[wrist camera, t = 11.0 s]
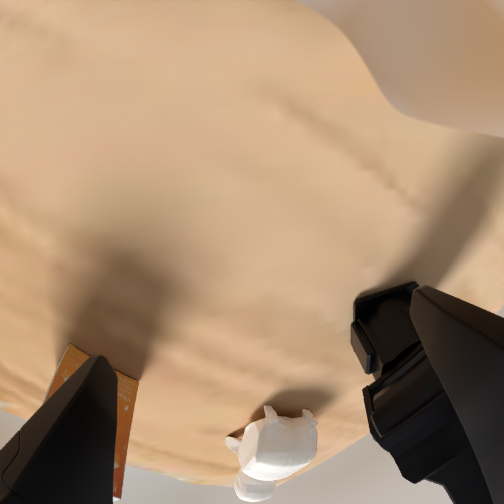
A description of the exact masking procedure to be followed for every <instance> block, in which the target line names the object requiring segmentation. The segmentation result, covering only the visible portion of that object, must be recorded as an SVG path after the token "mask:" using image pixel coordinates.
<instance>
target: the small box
mask: <svg viewBox="0 0 504 504" xmlns="http://www.w3.org/2000/svg"><path fill="white" fill-rule="evenodd" d="M89 357H90V356H88V355H87V354H85V353H83V352H82V351H80V350H78V349H77V348H76V347H74V346H73V345H71V344H69V345H68V346H67V348H66V350H65V352H64V354H63V356H62V358H61V360H60V363H59V365H58V367H57V369H56V371H55V374H54V376H53V378H52V380H51V383H50V385H49V388H48V390H47V393H46V395H45V398H44V400H43V403H42V405H43V404H44V403H45V402H46V401H47V400H48V399H49V398H50V397H51V396H52V395H53V394H54V393H55V391H56V390H57V389H58V388H59V387H60V386H61V385H62V384H63V383H64V382H65V381H66V380H67V379H68V378H69V377H70V376H71V375H72V374H73V373H74V372H75V371H76V370H77V369H78V368H79V367H80V366H81V365H82V364H83V363H84V362H85V361H86V360H87V359H88V358H89ZM115 372H116V374H117V377H118V403H117V434H116V446H115V460H114V480H113V501H116V500H120V499H121V495H122V486H123V478H124V470H125V463H126V456H127V449H128V442H129V436H130V430H131V424H132V418H133V413H134V407H135V401H136V396H137V391H138V386H139V382H138V381H136V380H134V379H131V378H129V377H127V376H125V375H123V374H121V373H119V372H117V371H115ZM42 405H41V406H42Z"/></svg>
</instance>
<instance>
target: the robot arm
mask: <svg viewBox="0 0 504 504" xmlns="http://www.w3.org/2000/svg"><path fill="white" fill-rule="evenodd" d="M413 287H414V288H413ZM359 304H361V305H359ZM358 305H359V306H358ZM351 345H352V347H353V350H354V352H355V353H356V355H357V357H358V359H359V361H360V363H361V365H362V367H363V369H364V371H365V373H366V374H368V375H369V374H371V373H372V374H373V376H374V378H375V380H376V381H374V382H373V383H372V384H370V385H369V386H368V385H367V386H366V387H365V388H363V389H362V391H363V396H364V403H365V408H366V413H367V418H368V423H369V429H370V433H371V434H372V436H373V439H374V440H375V441H376V442H378V444H379V445H380V446H381V447H382V448H383V449H385V450H386V451H387V452H390V454H391V455H392V457H393V458H394V460H395V462H396V464H397V466H398V468H399V470H400V472H401V474H402V476H403V477H404V478H405V479H407V480H408V481H410V482H412V483H414V484H416V483H418V482H420V481H421V480H423V479H425V480H428V481H430V482H433V483H436V484H439V485H442V486H443V487H444V489H445V490H446V492H447V493H448V495H449V497H450V498H451V500H452V502H453V504H504V318H503V317H501V316H498V315H496V314H494V313H491V312H489V311H487V310H484V309H482V308H480V307H477V306H475V305H473V304H470V303H468V302H466V301H463V300H461V299H459V298H456V297H454V296H451V295H449V294H447V293H444V292H442V291H439V290H437V289H435V288H432V287H430V286H427V285H425V286H421V287H419V284H418V283H417V282H415V281H414V282H410V283H407V284H404V285H401V286H398V287H395V288H392V289H389V290H386V291H383V292H380V293H376V294H373V295H370V296H367V297H363V298H360V299H357V300H356V301H355V302H354V304H353V322H352V324H351ZM117 403H118V377H117V374H116V372H115V370H114V369H113V367H112V366H111V365H110V363H109V362H108V360H107V359H106V357H105V356H103V355H93V356H90V357H89V358H88V359H87V360H86V361H85V362H84V363H83V364H82V365H81V366H80V367H79V368H78V369H77V370H76V371H75V372H74V373H73V374H72V375H71V376H70V377H69V378H68V379H67V380H66V381H65V382H64V383H63V384H62V385H61V386H60V387H59V388H58V389H57V390H56V391H55V393H54V394H53V395H52V396H51V397H50V398H49V399H48V400H47V401H46V402H45V403H44V404H43V405H42V406H41V407H40V408H39V409H38V410H37V411H36V413H35V414H34V415H33V416H32V417H31V418H30V419H29V420H28V421H27V422H26V423H25V424H24V425H23V426H22V428H21V429H20V431H18V432H17V433H16V434H15V435H14V437H12V438H11V440H10V441H9V442H8V443H7V444H6V445H5V446H4V447H3V448H2V449H1V450H0V504H113V480H114V460H115V446H116V434H117Z"/></svg>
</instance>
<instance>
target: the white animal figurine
mask: <svg viewBox="0 0 504 504" xmlns="http://www.w3.org/2000/svg"><path fill="white" fill-rule="evenodd" d="M264 411H265V415H266V417H265V418H264V419H260V420H258V421H255V422H252V423H250V424H249V425H248V426H247V427H246V428H245V432H244V436H243V438H242V439H238V438H234V437H229V436H227V438H226V440H225V444H226V445H227V446H228V447H229V448H230V449H231V450H232V451H234V452H235V453H236V454H237V455H238V456H239V461H240V464H241V468H240V470H239V472H238V474H237V475H236V477H235V479H234V488H235V491H236V494H237V496H238V497H239V498H240V499H242V500H245V501H249V502H258V501H262V500H265V499H268V498H270V497H271V496H272V494H273V491H274V488H275V485H276V483H277V482H276V480H278V479H282V478H285V477H288V476H290V475H291V474H293V473H294V472H296V471H299V470H300V469H301V468H302V467H304V466H305V465H307V464H309V463H310V462H311V461H312V459H314V457H315V454H316V451H317V429H316V427H315V426H316V425H317V424H318V422H317V421H316V420H315V419H314V418H313V414H312V413H311V412H310V411H309V410H306V409H303V410H302V414H303V415H302V417H299V418H288V417H282V416H277V413H276V412H275V411H274V410H273V408H272V406H267V405H264Z"/></svg>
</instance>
